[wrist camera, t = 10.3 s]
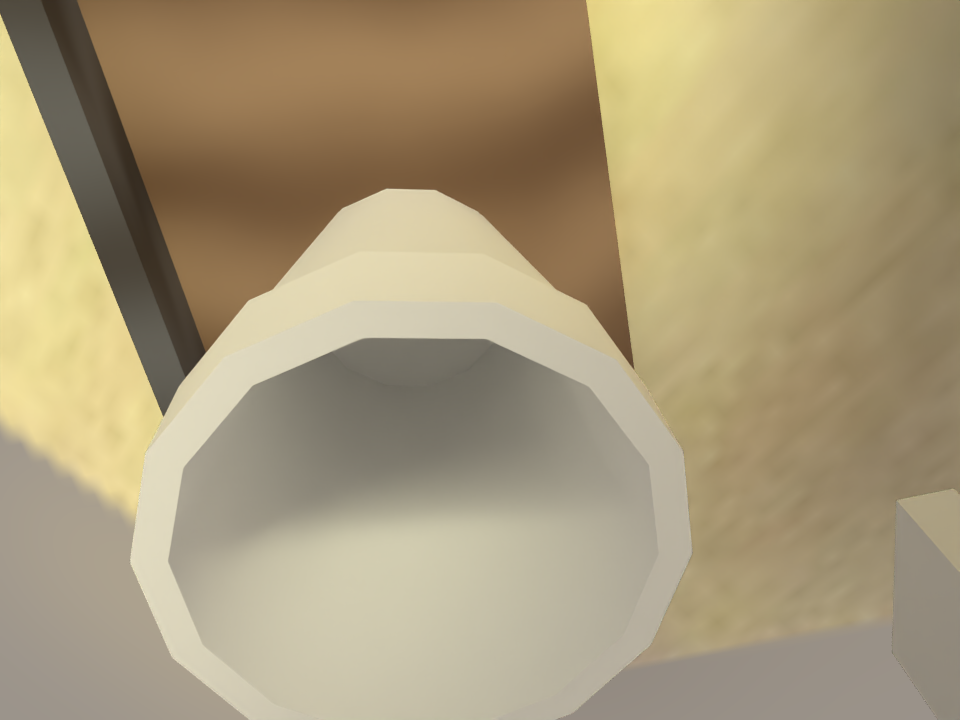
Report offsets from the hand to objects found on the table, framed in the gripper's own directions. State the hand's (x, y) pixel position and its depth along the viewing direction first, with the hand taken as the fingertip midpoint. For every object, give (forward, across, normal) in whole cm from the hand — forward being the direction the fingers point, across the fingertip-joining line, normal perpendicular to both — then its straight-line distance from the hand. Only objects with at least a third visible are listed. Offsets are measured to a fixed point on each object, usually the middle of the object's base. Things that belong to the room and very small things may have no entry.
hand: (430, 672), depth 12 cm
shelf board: (+18, -1, +3) cm, 18 cm away
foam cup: (+16, 0, -1) cm, 16 cm away
